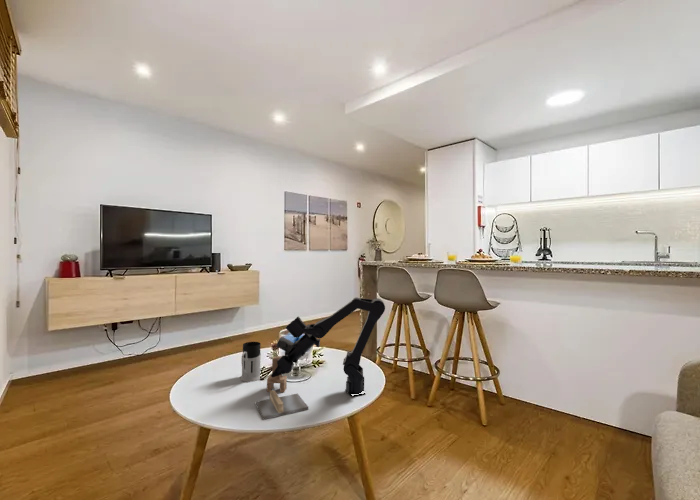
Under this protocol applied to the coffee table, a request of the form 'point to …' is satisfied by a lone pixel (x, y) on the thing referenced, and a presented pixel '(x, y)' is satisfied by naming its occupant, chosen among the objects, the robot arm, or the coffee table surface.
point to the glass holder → (251, 361)
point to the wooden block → (277, 379)
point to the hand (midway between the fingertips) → (274, 372)
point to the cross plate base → (287, 406)
